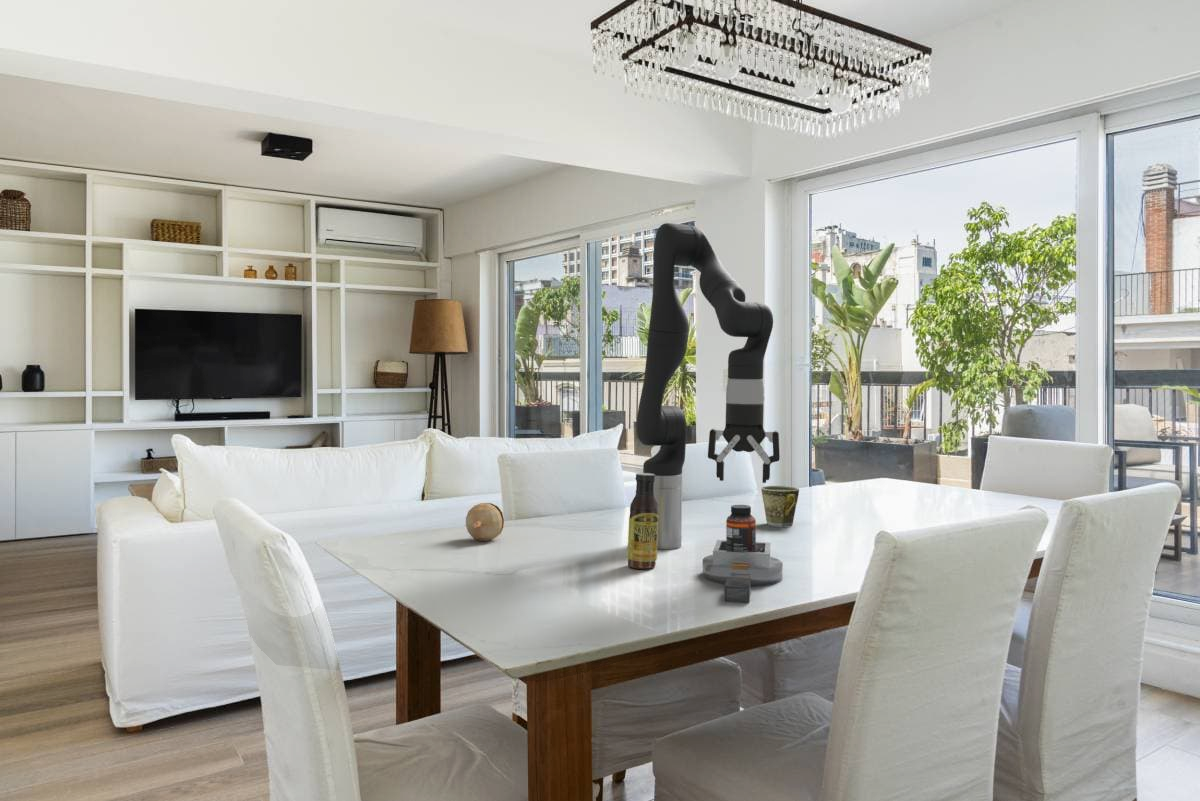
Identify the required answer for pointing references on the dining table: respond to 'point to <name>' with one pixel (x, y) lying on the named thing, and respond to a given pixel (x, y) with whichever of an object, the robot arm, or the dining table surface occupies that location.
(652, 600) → the dining table surface
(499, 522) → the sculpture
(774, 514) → the ceramic cup
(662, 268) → the robot arm
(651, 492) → the sauce bottle
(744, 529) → the supplement bottle
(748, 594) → the grey platform stand
